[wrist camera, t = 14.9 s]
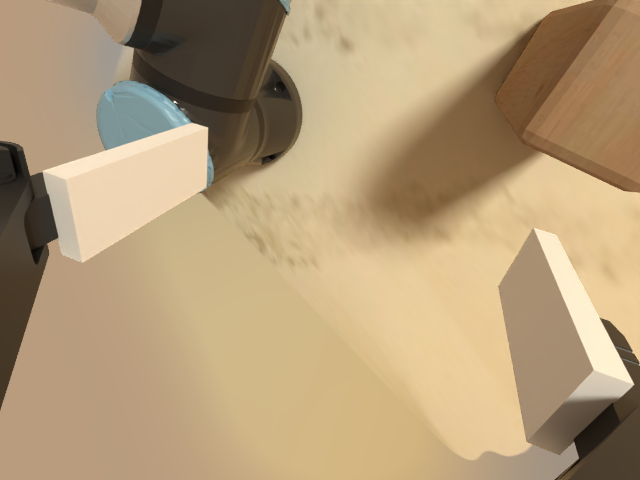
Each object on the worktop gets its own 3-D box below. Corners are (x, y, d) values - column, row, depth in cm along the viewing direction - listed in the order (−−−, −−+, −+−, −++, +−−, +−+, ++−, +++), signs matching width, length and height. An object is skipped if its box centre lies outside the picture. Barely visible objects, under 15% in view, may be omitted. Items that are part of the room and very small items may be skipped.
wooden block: (490, 101, 43) (513, 140, 27) (548, 8, 38) (624, -16, 21) (568, 137, 42) (642, 202, 26) (639, 48, 37) (792, 56, 20)
